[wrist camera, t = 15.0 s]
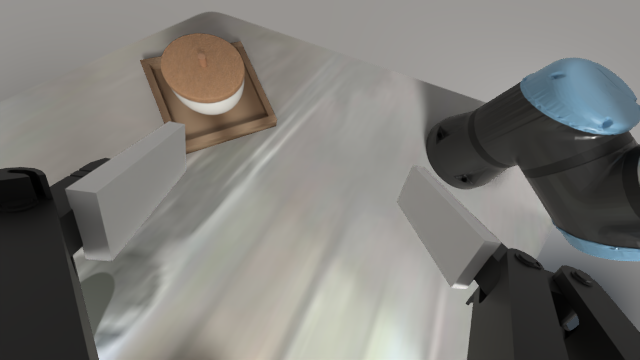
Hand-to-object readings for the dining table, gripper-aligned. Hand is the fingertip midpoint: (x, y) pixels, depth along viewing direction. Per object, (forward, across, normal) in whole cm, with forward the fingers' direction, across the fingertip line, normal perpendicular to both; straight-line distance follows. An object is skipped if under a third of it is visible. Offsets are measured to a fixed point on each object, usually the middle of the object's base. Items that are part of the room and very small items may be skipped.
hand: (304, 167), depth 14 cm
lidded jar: (+31, -13, -5) cm, 35 cm away
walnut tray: (+32, -14, -5) cm, 35 cm away
